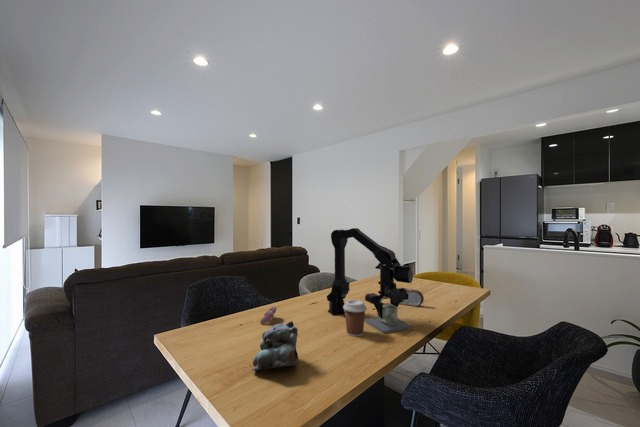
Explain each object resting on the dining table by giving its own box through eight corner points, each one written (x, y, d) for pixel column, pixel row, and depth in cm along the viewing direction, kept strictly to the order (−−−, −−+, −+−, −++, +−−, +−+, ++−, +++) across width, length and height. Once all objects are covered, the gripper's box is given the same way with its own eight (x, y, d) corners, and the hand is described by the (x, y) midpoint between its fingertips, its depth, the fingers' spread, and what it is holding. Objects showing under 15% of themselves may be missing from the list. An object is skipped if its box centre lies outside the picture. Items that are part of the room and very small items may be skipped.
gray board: (383, 333, 107) (383, 330, 107) (364, 321, 120) (364, 318, 120) (411, 328, 113) (411, 325, 113) (390, 317, 125) (390, 314, 125)
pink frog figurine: (268, 328, 116) (275, 313, 116) (258, 323, 116) (266, 308, 116) (272, 320, 126) (279, 306, 126) (263, 315, 126) (270, 301, 126)
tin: (423, 306, 141) (423, 290, 141) (422, 308, 138) (422, 291, 138) (394, 302, 149) (394, 286, 149) (393, 303, 146) (393, 287, 146)
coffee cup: (366, 338, 102) (366, 306, 103) (341, 336, 104) (341, 305, 104) (367, 329, 111) (366, 299, 111) (344, 327, 113) (344, 298, 113)
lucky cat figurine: (242, 371, 80) (248, 320, 87) (271, 371, 89) (274, 325, 96) (281, 370, 73) (283, 315, 80) (308, 370, 81) (308, 320, 89)
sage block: (385, 323, 112) (385, 308, 112) (377, 318, 118) (377, 304, 118) (397, 321, 115) (397, 306, 115) (388, 316, 120) (388, 302, 120)
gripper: (380, 286, 106) (380, 327, 105) (417, 282, 113) (417, 320, 113) (364, 280, 116) (364, 317, 115) (399, 276, 123) (399, 311, 123)
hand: (387, 316), depth 116 cm, fingers open, 6 cm apart
